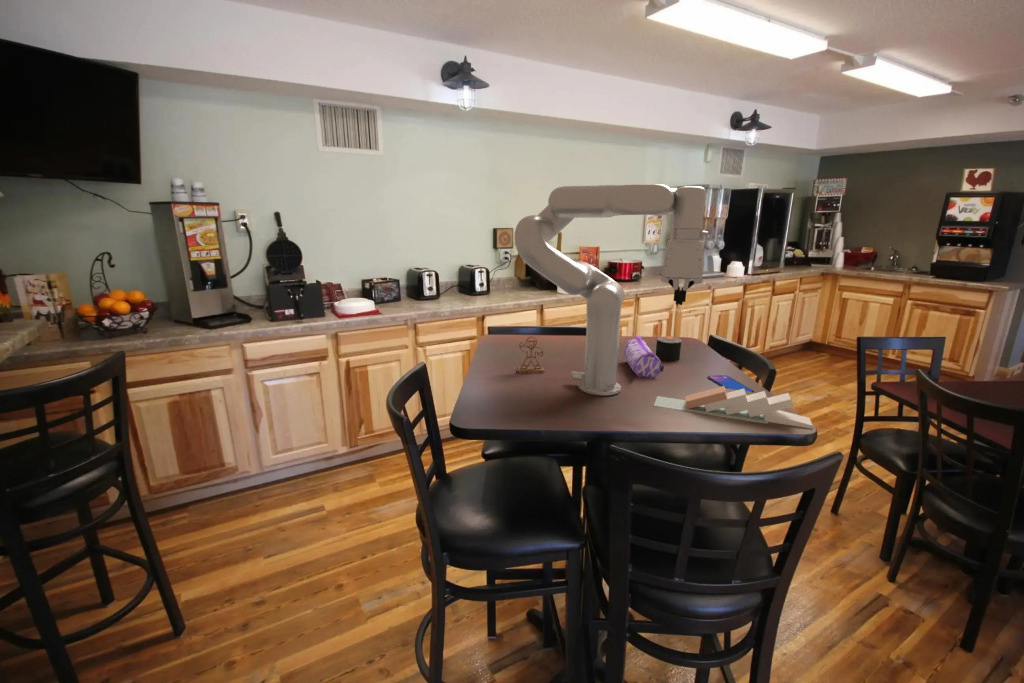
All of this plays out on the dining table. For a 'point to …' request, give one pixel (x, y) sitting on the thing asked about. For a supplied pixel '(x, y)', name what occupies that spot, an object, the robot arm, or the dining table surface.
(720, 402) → the domino
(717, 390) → the domino
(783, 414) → the domino
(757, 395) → the domino
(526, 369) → the gingerbread man figurine
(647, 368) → the pencil case
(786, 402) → the domino
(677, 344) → the sushi
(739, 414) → the board
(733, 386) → the smartphone
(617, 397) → the dining table surface
